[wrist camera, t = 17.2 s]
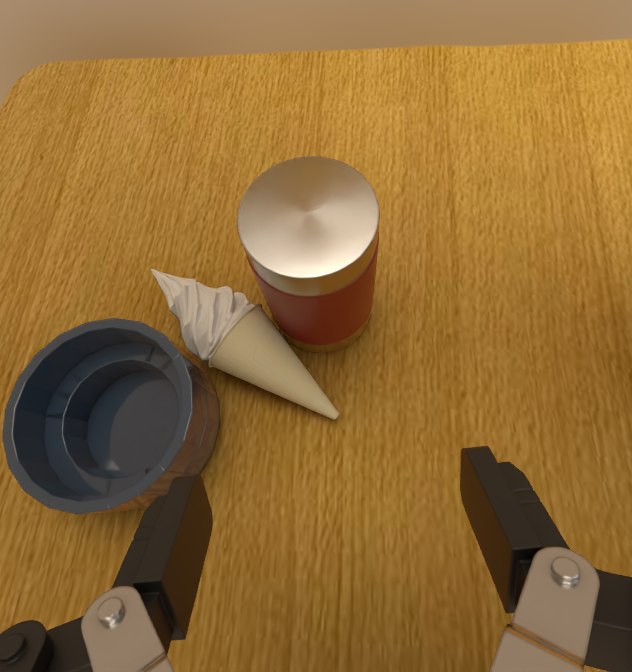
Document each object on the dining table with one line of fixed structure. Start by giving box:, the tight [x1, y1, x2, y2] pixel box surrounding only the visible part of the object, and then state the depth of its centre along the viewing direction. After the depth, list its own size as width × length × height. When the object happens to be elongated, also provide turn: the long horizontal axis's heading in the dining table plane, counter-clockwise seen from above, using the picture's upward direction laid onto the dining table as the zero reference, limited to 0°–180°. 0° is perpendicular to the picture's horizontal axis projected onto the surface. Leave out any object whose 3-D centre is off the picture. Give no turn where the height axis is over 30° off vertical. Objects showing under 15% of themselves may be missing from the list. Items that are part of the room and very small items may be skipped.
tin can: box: [237, 156, 380, 353], centre depth 26 cm, size 7×7×11 cm
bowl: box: [2, 318, 219, 514], centre depth 27 cm, size 10×10×6 cm
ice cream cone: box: [151, 269, 339, 420], centre depth 28 cm, size 5×5×15 cm
